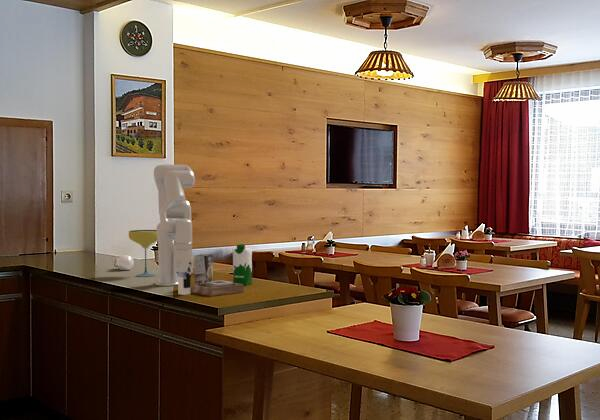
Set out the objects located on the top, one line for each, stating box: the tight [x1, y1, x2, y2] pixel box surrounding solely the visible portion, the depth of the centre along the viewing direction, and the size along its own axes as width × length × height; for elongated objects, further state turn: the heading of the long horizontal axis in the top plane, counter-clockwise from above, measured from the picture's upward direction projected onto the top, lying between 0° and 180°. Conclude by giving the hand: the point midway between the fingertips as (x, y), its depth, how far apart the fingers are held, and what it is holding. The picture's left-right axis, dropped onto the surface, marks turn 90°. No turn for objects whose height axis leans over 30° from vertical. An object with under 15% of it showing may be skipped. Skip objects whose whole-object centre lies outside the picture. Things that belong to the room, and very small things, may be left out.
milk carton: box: [232, 244, 253, 287], centre depth 334 cm, size 9×9×20 cm
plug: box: [177, 271, 192, 296], centre depth 304 cm, size 4×4×10 cm
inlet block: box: [206, 279, 233, 288], centre depth 309 cm, size 9×9×4 cm
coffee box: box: [194, 253, 214, 285], centre depth 322 cm, size 9×6×16 cm
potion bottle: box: [113, 254, 134, 271], centre depth 401 cm, size 9×10×15 cm
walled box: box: [190, 283, 245, 297], centre depth 308 cm, size 16×18×4 cm
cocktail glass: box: [128, 229, 158, 278], centre depth 371 cm, size 18×18×25 cm
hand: (184, 286), depth 304 cm, fingers closed on plug, 4 cm apart
